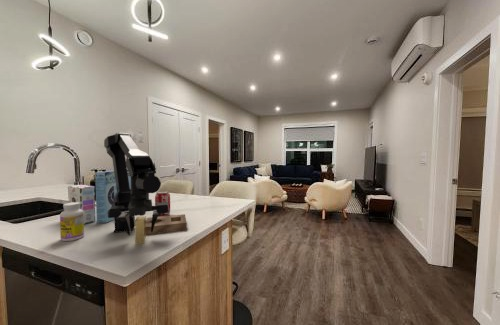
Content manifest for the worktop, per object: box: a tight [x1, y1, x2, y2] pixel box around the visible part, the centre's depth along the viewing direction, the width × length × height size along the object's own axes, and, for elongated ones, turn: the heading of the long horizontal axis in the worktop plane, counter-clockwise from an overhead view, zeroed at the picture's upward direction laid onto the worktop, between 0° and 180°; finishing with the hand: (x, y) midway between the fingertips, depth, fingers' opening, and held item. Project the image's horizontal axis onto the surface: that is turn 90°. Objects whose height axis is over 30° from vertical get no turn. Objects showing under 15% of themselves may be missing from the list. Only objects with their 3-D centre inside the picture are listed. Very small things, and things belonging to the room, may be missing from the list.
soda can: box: [154, 190, 171, 217], centre depth 108 cm, size 7×7×12 cm
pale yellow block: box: [134, 215, 147, 245], centre depth 77 cm, size 3×5×8 cm, turn 20°
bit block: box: [146, 214, 188, 236], centre depth 91 cm, size 16×13×3 cm
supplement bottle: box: [59, 202, 85, 242], centre depth 79 cm, size 7×7×13 cm
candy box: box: [67, 184, 97, 225], centre depth 100 cm, size 14×6×16 cm, turn 58°
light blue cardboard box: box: [94, 169, 131, 224], centre depth 106 cm, size 20×5×23 cm, turn 178°
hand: (140, 233), depth 77 cm, fingers open, 7 cm apart
